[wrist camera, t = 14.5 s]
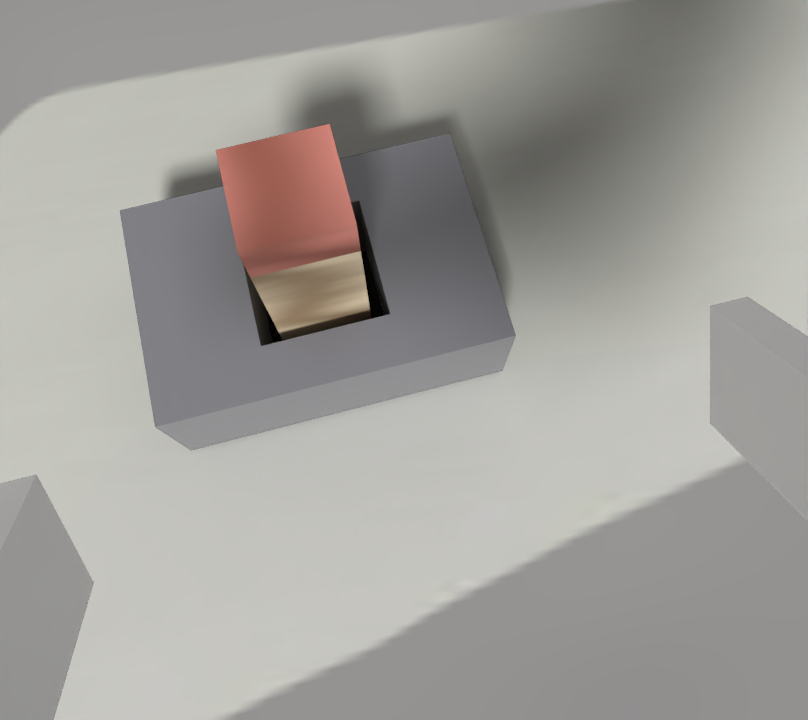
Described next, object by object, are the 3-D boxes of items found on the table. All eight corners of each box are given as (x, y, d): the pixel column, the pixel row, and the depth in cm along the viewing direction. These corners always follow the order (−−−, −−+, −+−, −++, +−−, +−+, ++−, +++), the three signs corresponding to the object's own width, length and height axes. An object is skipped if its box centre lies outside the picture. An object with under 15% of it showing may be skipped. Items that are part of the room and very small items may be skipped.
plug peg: (355, 268, 37) (329, 123, 26) (375, 342, 36) (356, 224, 25) (277, 287, 37) (215, 150, 26) (294, 362, 36) (237, 253, 25)
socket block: (445, 190, 39) (449, 133, 34) (502, 370, 36) (515, 335, 31) (157, 259, 38) (119, 210, 33) (191, 450, 35) (155, 426, 30)
